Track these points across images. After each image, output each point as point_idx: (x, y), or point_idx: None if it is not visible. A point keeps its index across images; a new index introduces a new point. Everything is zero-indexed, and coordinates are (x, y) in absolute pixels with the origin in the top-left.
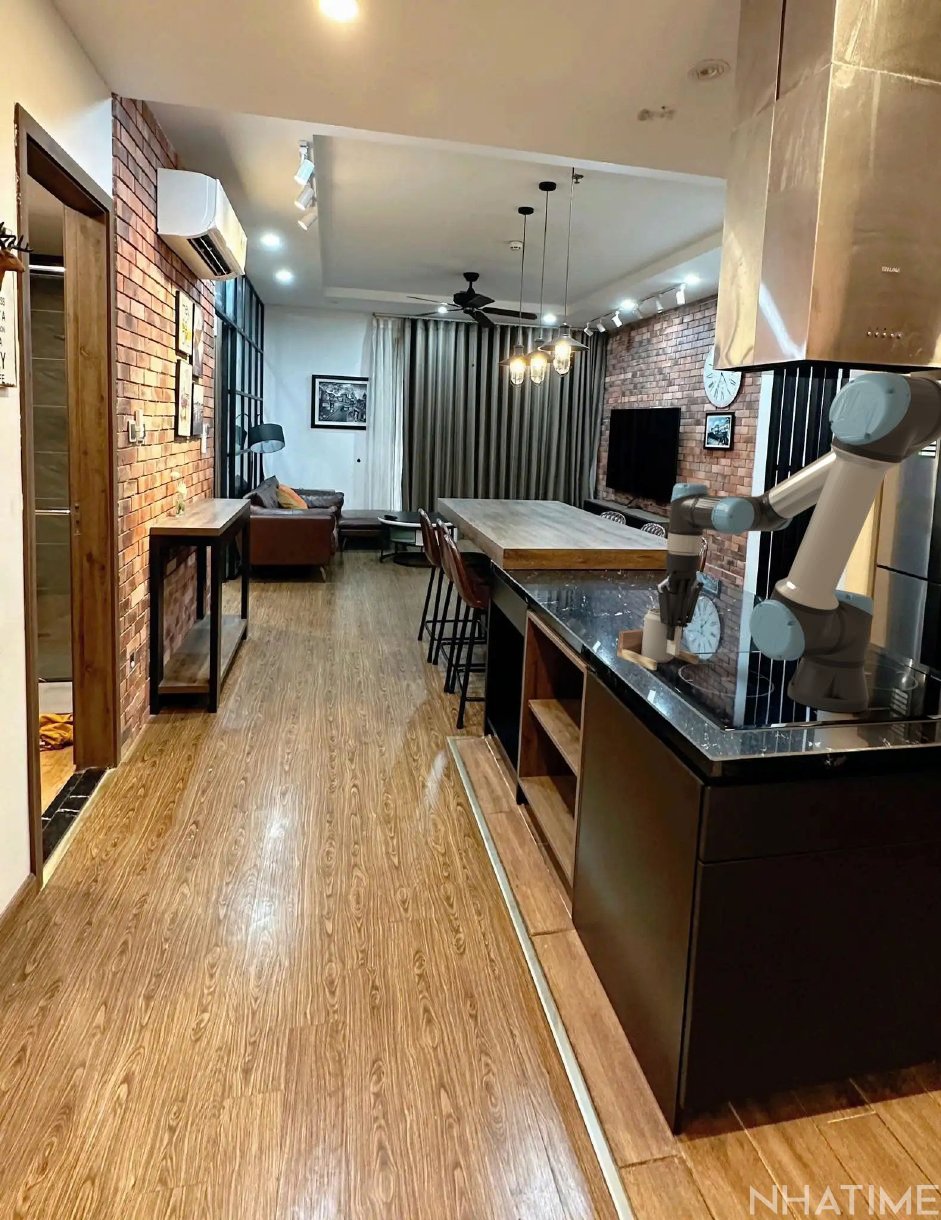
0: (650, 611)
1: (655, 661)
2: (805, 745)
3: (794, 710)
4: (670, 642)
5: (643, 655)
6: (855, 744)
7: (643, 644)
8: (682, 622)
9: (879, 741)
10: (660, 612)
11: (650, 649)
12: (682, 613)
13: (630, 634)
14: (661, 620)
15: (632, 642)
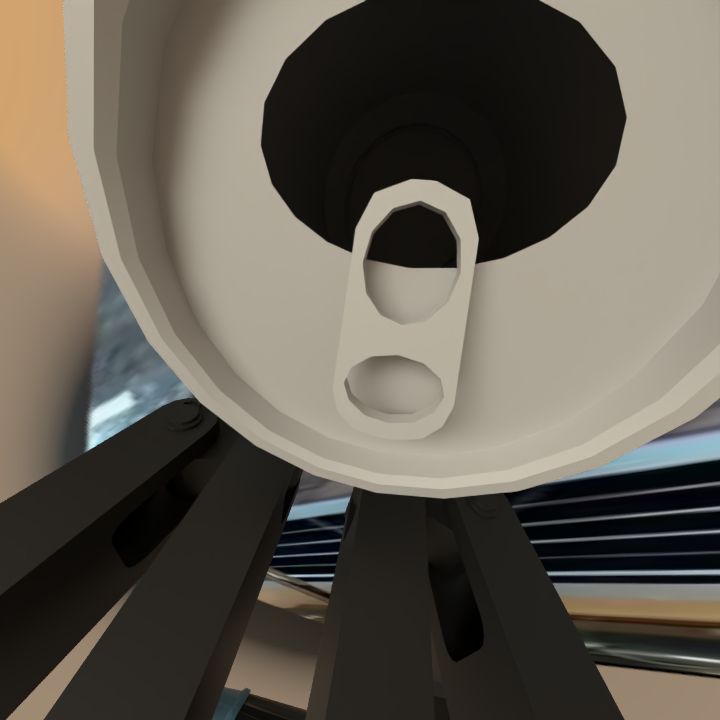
0: (68, 115)
1: None
2: None
3: (317, 565)
4: None
5: (327, 167)
6: (272, 601)
7: (315, 142)
8: (351, 519)
9: (306, 614)
10: (16, 507)
11: (311, 226)
12: (324, 626)
13: None
14: (152, 425)
15: None
